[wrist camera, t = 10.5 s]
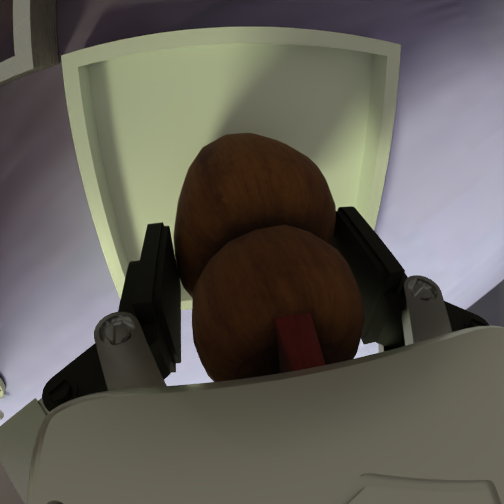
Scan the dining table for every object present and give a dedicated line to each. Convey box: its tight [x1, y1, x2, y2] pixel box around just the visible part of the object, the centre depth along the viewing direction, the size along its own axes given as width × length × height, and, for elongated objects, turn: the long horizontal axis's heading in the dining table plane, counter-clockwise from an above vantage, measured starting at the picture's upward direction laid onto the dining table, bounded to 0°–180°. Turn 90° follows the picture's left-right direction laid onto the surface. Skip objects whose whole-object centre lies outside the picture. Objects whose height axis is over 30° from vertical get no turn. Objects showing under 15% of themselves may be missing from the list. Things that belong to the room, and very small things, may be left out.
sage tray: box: [61, 27, 401, 310], centre depth 16 cm, size 16×16×2 cm
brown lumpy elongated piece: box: [174, 133, 365, 382], centre depth 10 cm, size 7×6×15 cm
